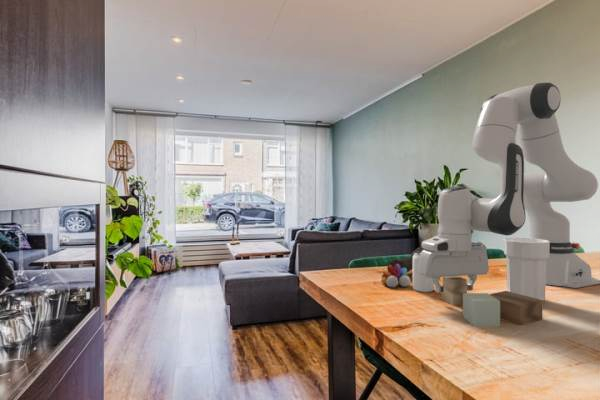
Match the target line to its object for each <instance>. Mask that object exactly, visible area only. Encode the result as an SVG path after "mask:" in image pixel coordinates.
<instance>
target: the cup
mask: <svg viewBox="0 0 600 400" xmlns="http://www.w3.org/2000/svg"><path fill="white" fill-rule="evenodd" d="M502 242H503V254H504V255H505V256H506V258H505V259H506V279H507V280H506V283H507V287H506V288H507V291H509V292H513V293H517V294H520V295H524V296H528V297H532V298H536V299H540V300H542V304H544V303H546V288H547V284H546V262H547V259H548V258H549V249H550V242H549V241H547V240H542V239H533V238H530V237H505V238H503V241H502Z"/></svg>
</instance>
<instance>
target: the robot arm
mask: <svg viewBox="0 0 600 400" xmlns="http://www.w3.org/2000/svg"><path fill="white" fill-rule="evenodd" d="M560 92H561V91H560V89H559V88H558V86H556V85H555V84H554V83H552V82H538V83H535V84H531V85H525V86H519V87H516V88H514V89H511V90H508V91H505V92H502V93H499V94H494V95H491V96H489V97H488V98H486V99H485V100H484V101H483V103H482V105H481V106H480V113H479V116H478V119H477V122H476V124H475V129H474V131H473V132H474V133H473V137H472V148H473V151H474V152H475V154H476V155H477V156H478V157H480V158H482V159H483V160H485V161H487V162H491V163H494V164H497V165H499V166H500V171H501V172H500V174H501V175H500V193H499V195H498V196H497V197H495V198H489V197H487V198H483V197H479V196H477V195H474V194H473V193H472V192H471V191H470V188H469V187H468V186H466V185H465V186H460V185H459V186H458V185H457V186H456V185H455V186H450V187H447V188H446V187H445V188H443V189H442V190H440V193H439V195H438V201H437V220H438V229H437V235H435V236H433V237H431V238H428V239H426V240H423V241H422V242H421V246H420V247H422V248H423V249H424V250H423V251H422V252H421V254H420V261H419V271H420V273H421V275H423V276H425V277H428V278H431V277H432V281H433V283H434V290H435V292H436V293H439V294H440V293H443V292H444V290H443V289H444V286H443V285H441V284H440V281H441V278H443V277H449V276H459V277H461V276H462V277H465V276H467V278H468V279H467V292H468V291H470V292H471V291H473V290H474V284H475V283H476V281H477V279H478V276H482V275H487V274H488V272H489V271H490V269H489V267H490V266H489V258H488V254H487V246H486V245H485V244H484V243H482V241H481V242H480V241H478V242H472V241H473V240H472V239H473V238H472V231H477V232H478V231H479V232H487V233H494V234H498V235H502V236H511V235H514V234H515V233H517V232H519V231H520V229H521V228H522V227H523V226H524V225H525V223H526V213H527V216H528V220H529V228H530V229H529V230H530V235H529V236H530V237H529V238H533V239H542V240H547V241H549V242H550V249H549V258H548V259H547V262H546V285H549V286H558V287H566V288H574V289H578V288H582V287H583V288H584V287H590V286H593V285H600V279H598V278H595V277H592V268H591V265H590V264H589V263H587V262H586V261H585V260H583V259H582V258H581V257H580V256H578V254H576V253H575V250H574V249H576V250H579V249H580V248H581V245H580V243H579V242H578V243H577V242H576V243H575V242H571V241H570V240H571V237H570V236H571V235H570V234H571V233H570V230H571V229H570V228H571V223H570V220H569V219H568V218H567V216H566V215H564V214H562V213H560V212H558V211H555V210H554V208H553V206H552V205H551V203H554V202H555V203H556V202H557V203H567V202H568V203H572V202H574V203H575V202H580V201H587V200H591V198H592V197H594V195H596V193H597V192H598V191H597V190H598V187H599V182H598V179H597V177H596V175H595V174H594V173H592V172H591V171H590V170H587V169H585V168H583V167H581V166H580V165H578V164H577V163H575V162H574V161H573V160H572V159H571V158H570V157H569V155H568V154H567V153H566V150H565V149H564V145H563V142H562V138H561V133H560V128H559V123H558V120H557V117H556V113H557V111H558V110H559V108H560V106H561V93H560ZM517 132H518V137H519V142H520V145H519V144H517V143H516V137H517ZM525 161H526V162H527V163H529V164H531V165H534V166H537V167H539V168H540V169H541V171H539V170H538V171H527V172H525Z"/></svg>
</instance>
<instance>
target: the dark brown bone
mask: <svg viewBox="0 0 600 400" xmlns="http://www.w3.org/2000/svg"><path fill="white" fill-rule="evenodd" d="M423 250H424V249H423V248H422V246H420V247H417V248H415V249H414V251H412V252H411V254H410V256H409V257H406V258H397V259H396V258H394V259H392V260H390V261H389V262H388V263H387V267H386V268H387V272H390V271H389V268H388V266H389V265H391V266H392V267H393V268H394V267H395V265H396V264H399V265H400V267H401V269H402V268H406V269H407V273H406V275H407V274H408V273H409V272H410V271H413V255H414V252H422V251H423Z"/></svg>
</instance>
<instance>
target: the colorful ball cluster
mask: <svg viewBox="0 0 600 400" xmlns="http://www.w3.org/2000/svg"><path fill="white" fill-rule="evenodd" d="M387 267H388V268H389V271H390V272H388V270H384V269H383V270H382V272H381V273H382V275H381V277H380V278H381V279H380V280H381V282H382V284H386V286H387V287H389V288H392V289H393V288H397V286H398V285H399V286H400V287H402V288H407V287H409V286H410V285H411V282H412V281H411V278H410V276H408V275H407V274H408V272H407V269H406V268H402V269H401V267H400V265H399V264H396V265H395V267H394V268H393V267H392V266H391V265H389V266H388V265H387ZM406 273H407V274H406Z"/></svg>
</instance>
